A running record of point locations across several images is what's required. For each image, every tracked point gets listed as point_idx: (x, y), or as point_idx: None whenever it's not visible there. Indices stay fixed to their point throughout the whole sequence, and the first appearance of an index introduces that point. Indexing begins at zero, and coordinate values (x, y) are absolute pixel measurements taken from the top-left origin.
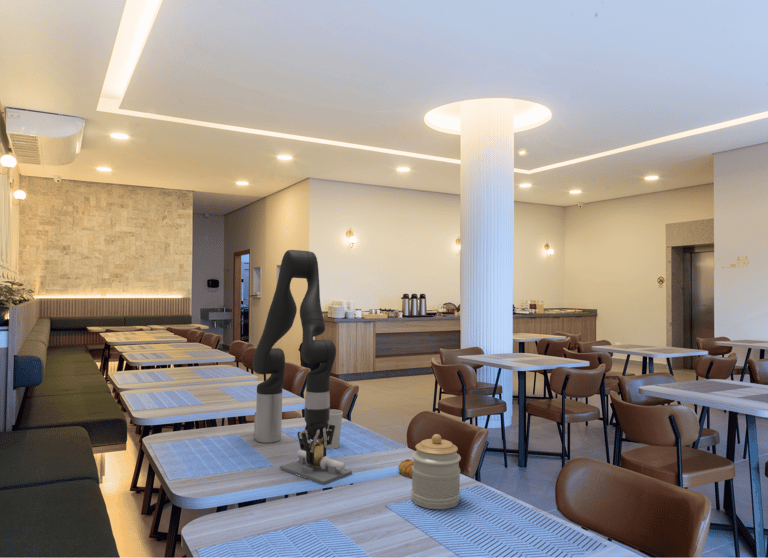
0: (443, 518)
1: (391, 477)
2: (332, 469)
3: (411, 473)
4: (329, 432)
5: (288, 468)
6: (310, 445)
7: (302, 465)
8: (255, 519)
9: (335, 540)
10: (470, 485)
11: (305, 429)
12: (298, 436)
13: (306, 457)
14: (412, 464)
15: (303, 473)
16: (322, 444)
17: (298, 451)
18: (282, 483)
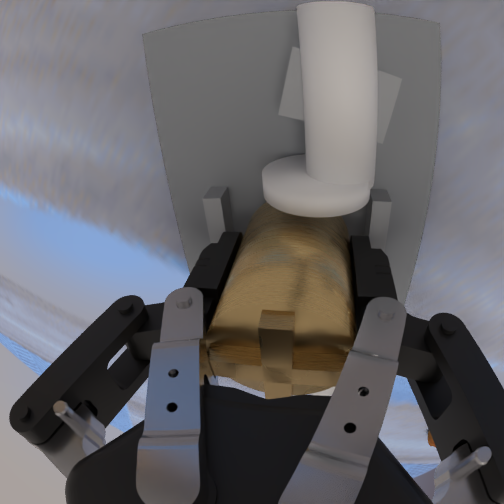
0: None
1: (419, 408)
2: None
3: (432, 438)
4: (449, 449)
5: (161, 103)
6: (208, 342)
7: (273, 117)
8: (15, 318)
9: (114, 418)
10: (434, 462)
11: (70, 481)
12: (31, 394)
13: (195, 269)
14: None
15: (188, 233)
16: (316, 386)
17: (309, 13)
18: (86, 216)
